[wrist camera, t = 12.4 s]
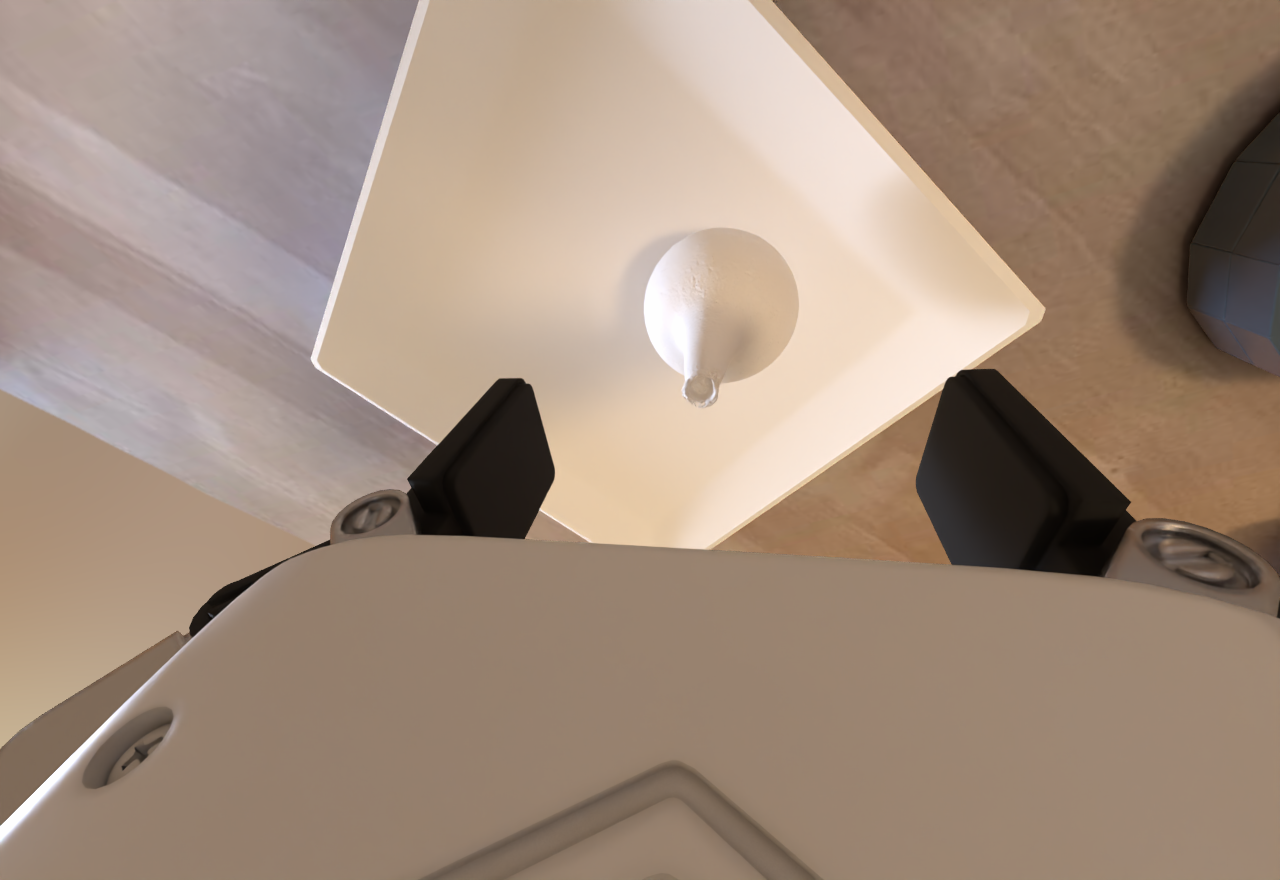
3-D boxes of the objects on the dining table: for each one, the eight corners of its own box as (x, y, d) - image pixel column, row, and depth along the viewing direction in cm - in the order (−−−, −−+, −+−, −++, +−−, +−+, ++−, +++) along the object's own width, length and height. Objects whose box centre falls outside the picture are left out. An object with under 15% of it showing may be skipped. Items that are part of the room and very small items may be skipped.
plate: (331, 351, 28) (305, 365, 26) (532, -251, 14) (504, -303, 12) (661, 565, 34) (657, 588, 32) (1027, 300, 20) (1054, 316, 18)
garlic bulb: (825, 272, 19) (876, 348, 12) (738, 386, 22) (742, 491, 16) (695, 190, 18) (676, 225, 11) (626, 322, 21) (581, 407, 15)
